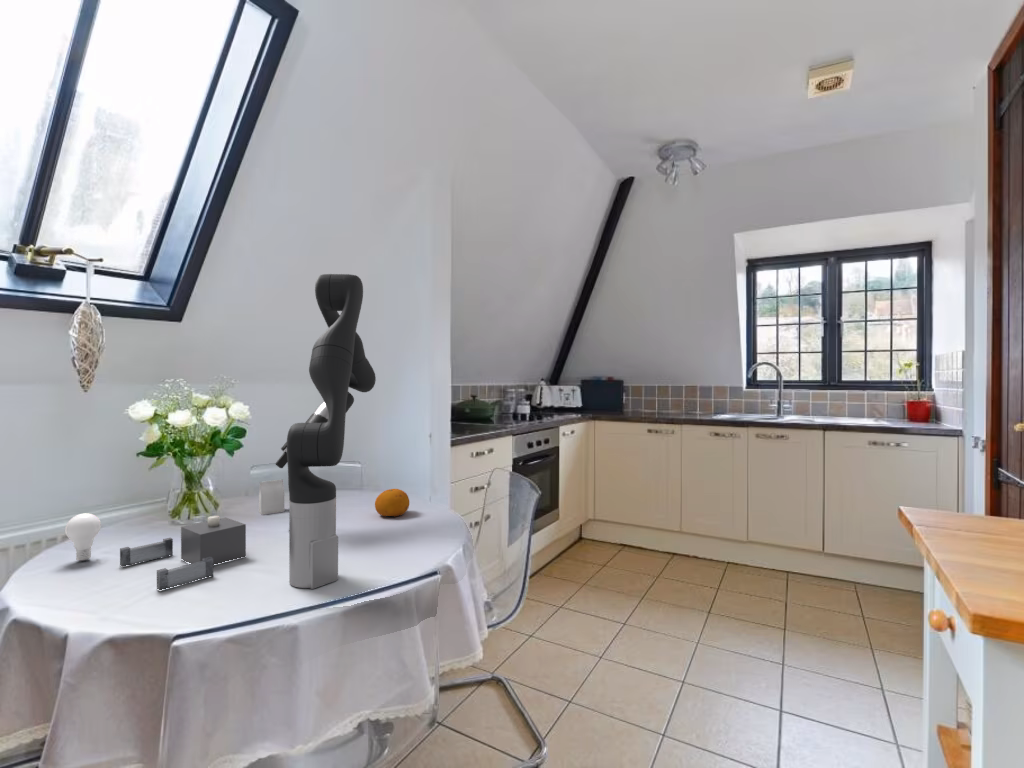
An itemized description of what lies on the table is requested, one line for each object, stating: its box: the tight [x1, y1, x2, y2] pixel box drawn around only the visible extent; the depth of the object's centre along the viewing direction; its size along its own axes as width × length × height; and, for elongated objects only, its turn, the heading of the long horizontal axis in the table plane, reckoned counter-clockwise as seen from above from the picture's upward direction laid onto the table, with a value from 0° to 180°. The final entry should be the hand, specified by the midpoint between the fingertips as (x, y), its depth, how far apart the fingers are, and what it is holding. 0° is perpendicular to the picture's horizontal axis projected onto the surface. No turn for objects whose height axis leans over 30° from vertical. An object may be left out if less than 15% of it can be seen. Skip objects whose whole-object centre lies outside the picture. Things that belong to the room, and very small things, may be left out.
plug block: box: [180, 515, 247, 565], centre depth 121 cm, size 10×10×10 cm
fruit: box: [374, 488, 410, 517], centre depth 160 cm, size 10×10×8 cm
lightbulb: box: [64, 512, 102, 563], centre depth 119 cm, size 6×6×11 cm
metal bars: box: [119, 537, 214, 590], centre depth 113 cm, size 23×10×4 cm, turn 53°
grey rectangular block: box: [258, 479, 285, 516], centre depth 163 cm, size 4×7×10 cm, turn 127°
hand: (287, 468), depth 136 cm, fingers open, 8 cm apart
